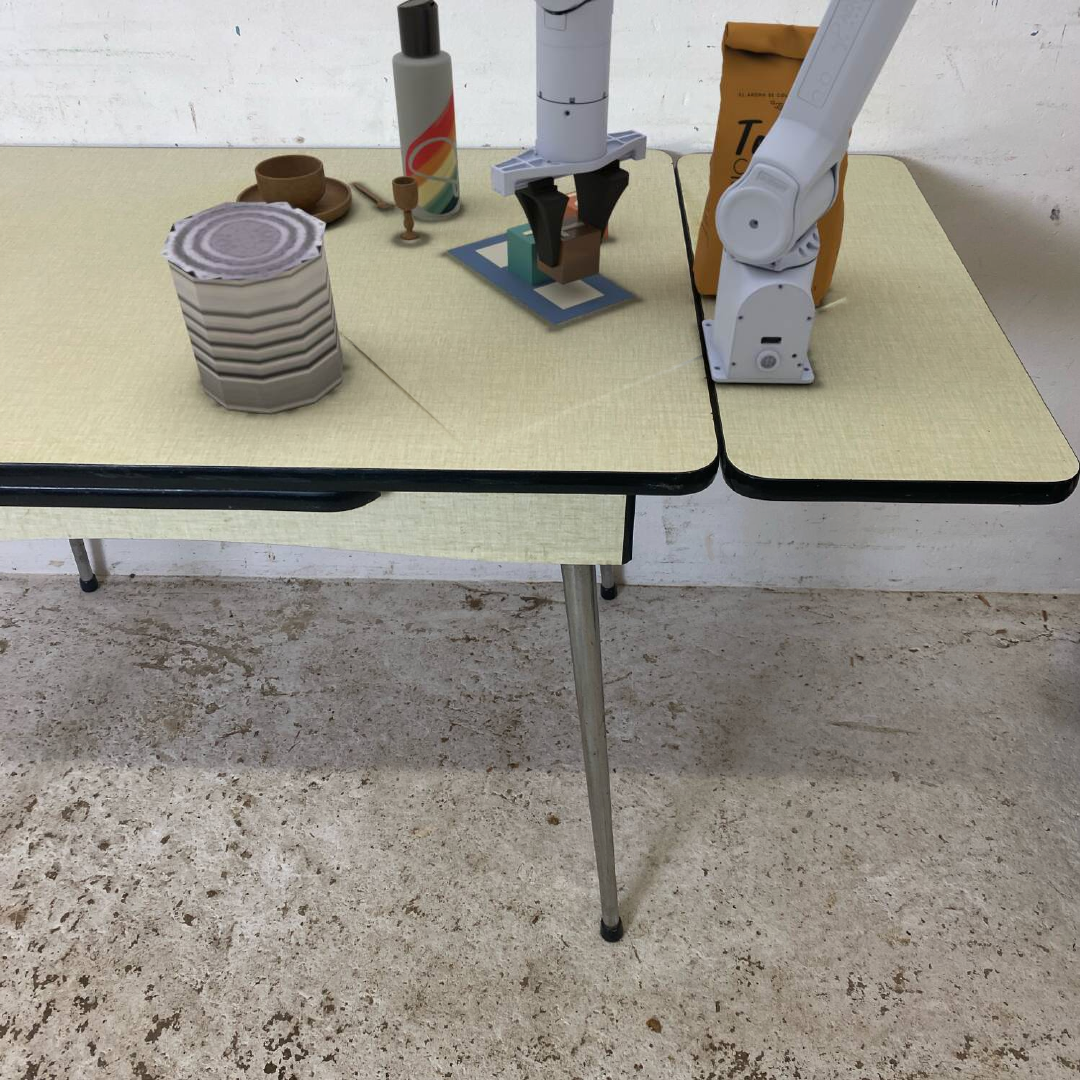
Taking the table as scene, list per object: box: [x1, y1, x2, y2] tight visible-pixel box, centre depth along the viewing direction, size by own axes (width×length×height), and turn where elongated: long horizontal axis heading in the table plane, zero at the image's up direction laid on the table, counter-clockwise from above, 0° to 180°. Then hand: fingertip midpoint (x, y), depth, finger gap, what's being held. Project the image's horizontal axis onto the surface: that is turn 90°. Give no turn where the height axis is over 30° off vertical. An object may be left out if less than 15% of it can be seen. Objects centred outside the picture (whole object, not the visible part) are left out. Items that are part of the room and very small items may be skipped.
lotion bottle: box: [391, 0, 461, 219], centre depth 94 cm, size 6×6×20 cm
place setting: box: [235, 154, 421, 242], centre depth 96 cm, size 18×20×6 cm
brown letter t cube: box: [537, 215, 601, 285], centre depth 83 cm, size 4×4×4 cm
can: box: [159, 201, 344, 415], centre depth 72 cm, size 11×11×12 cm
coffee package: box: [692, 20, 853, 308], centre depth 80 cm, size 10×12×22 cm
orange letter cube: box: [564, 190, 609, 239], centre depth 94 cm, size 4×4×4 cm
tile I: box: [506, 222, 553, 285], centre depth 87 cm, size 4×4×4 cm
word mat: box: [446, 232, 636, 326], centre depth 89 cm, size 18×9×1 cm, turn 35°
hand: (569, 256), depth 83 cm, fingers closed on brown letter t cube, 4 cm apart
